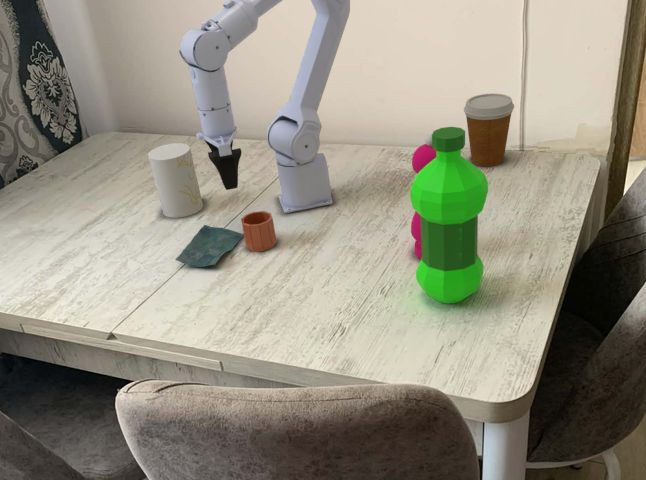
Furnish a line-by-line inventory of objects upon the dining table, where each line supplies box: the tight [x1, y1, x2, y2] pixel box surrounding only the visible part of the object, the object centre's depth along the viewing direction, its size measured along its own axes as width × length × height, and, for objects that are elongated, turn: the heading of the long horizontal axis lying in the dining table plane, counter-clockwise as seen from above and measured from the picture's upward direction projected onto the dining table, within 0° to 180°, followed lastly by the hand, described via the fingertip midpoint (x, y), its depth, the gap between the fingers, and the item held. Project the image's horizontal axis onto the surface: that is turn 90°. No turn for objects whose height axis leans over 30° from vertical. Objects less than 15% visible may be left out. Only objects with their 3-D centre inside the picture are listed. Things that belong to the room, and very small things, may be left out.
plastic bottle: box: [409, 126, 489, 304], centre depth 103 cm, size 10×10×25 cm
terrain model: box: [174, 224, 244, 268], centre depth 130 cm, size 13×8×2 cm, turn 161°
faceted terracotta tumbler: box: [240, 210, 277, 253], centre depth 129 cm, size 5×6×5 cm
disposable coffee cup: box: [463, 93, 515, 167], centre depth 144 cm, size 10×10×12 cm
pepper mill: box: [410, 133, 437, 260], centre depth 115 cm, size 7×7×20 cm
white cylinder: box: [147, 142, 204, 219], centre depth 143 cm, size 8×8×12 cm
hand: (229, 180), depth 132 cm, fingers open, 7 cm apart
